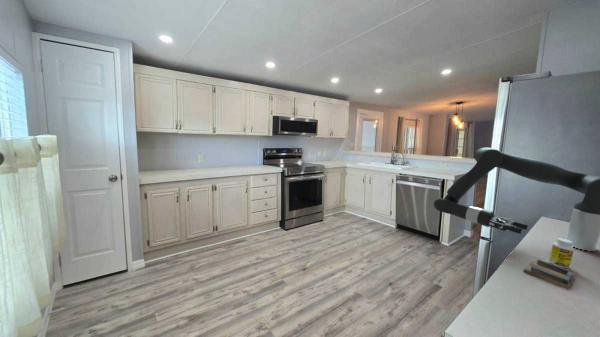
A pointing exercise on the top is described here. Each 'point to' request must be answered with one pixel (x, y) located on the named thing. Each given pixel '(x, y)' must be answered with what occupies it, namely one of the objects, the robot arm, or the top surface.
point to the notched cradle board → (550, 273)
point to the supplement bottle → (561, 253)
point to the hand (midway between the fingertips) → (524, 229)
